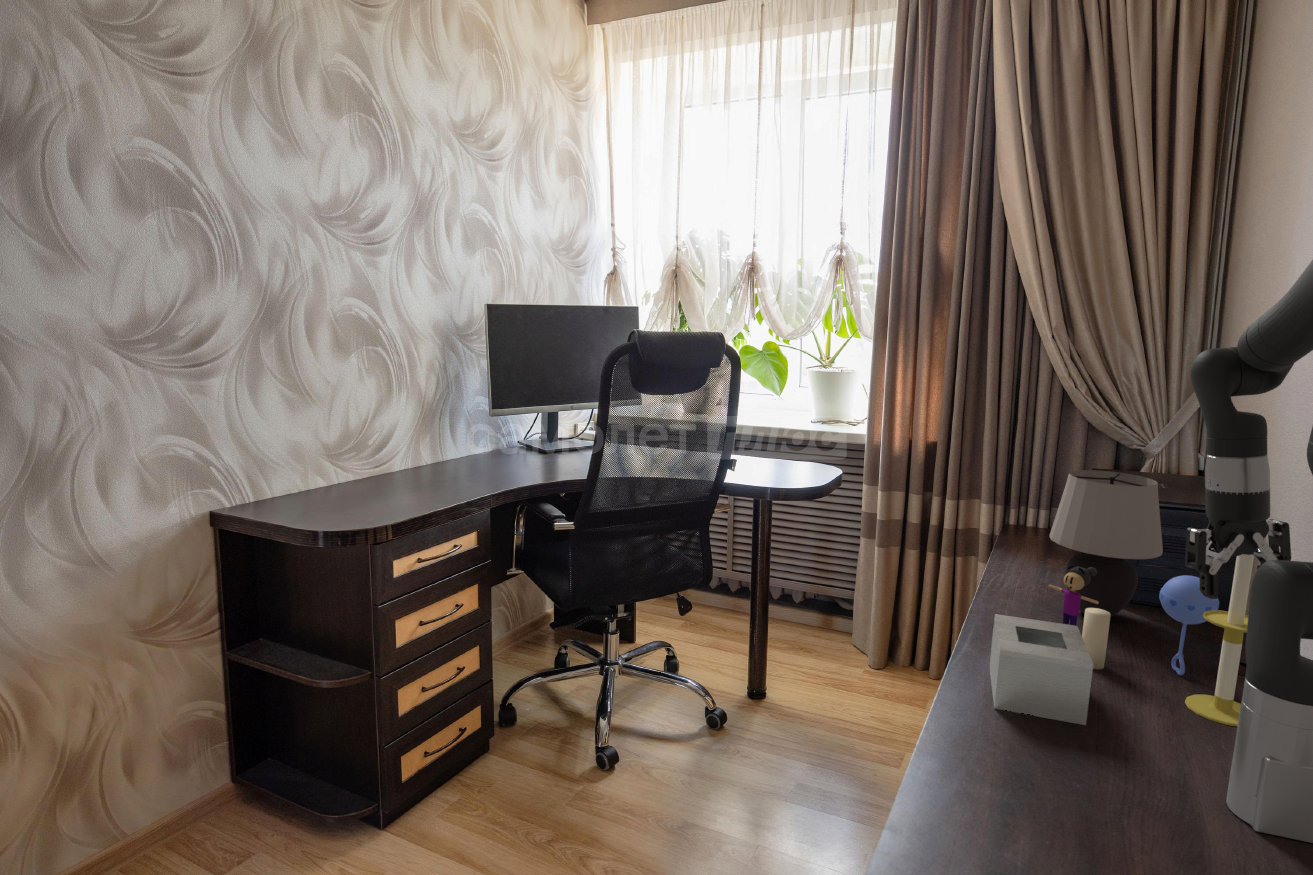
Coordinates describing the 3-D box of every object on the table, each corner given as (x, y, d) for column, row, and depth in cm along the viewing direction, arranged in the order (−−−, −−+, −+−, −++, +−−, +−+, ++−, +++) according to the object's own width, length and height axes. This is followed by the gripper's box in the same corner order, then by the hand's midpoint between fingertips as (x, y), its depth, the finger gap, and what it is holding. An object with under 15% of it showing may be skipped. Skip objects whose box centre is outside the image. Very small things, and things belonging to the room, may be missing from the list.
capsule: (1106, 670, 139) (1112, 617, 137) (1080, 666, 140) (1087, 613, 138) (1101, 661, 142) (1108, 609, 141) (1077, 657, 144) (1083, 606, 142)
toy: (1037, 631, 155) (1045, 559, 153) (1055, 627, 158) (1063, 556, 155) (1086, 652, 146) (1095, 575, 144) (1104, 647, 149) (1114, 572, 146)
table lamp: (1171, 638, 153) (1192, 490, 149) (1059, 628, 157) (1076, 483, 152) (1128, 601, 174) (1145, 470, 169) (1029, 593, 177) (1043, 464, 172)
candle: (1205, 723, 121) (1235, 521, 116) (1172, 693, 131) (1198, 505, 126) (1275, 730, 120) (1309, 525, 114) (1237, 698, 129) (1266, 509, 124)
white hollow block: (1085, 725, 119) (1093, 664, 118) (994, 708, 124) (1000, 649, 122) (1070, 680, 134) (1077, 625, 133) (989, 667, 139) (994, 613, 137)
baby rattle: (1217, 687, 133) (1232, 587, 130) (1161, 681, 135) (1175, 582, 132) (1194, 665, 142) (1207, 571, 139) (1141, 660, 143) (1154, 566, 140)
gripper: (1210, 494, 108) (1211, 607, 110) (1307, 484, 109) (1307, 597, 110) (1170, 486, 115) (1173, 592, 117) (1261, 476, 116) (1262, 582, 118)
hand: (1238, 594), depth 114 cm, fingers open, 8 cm apart
